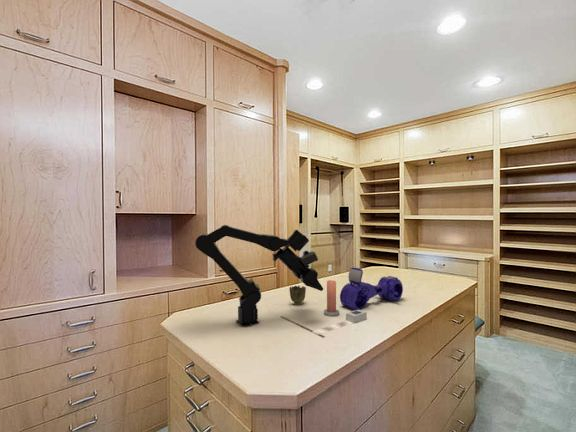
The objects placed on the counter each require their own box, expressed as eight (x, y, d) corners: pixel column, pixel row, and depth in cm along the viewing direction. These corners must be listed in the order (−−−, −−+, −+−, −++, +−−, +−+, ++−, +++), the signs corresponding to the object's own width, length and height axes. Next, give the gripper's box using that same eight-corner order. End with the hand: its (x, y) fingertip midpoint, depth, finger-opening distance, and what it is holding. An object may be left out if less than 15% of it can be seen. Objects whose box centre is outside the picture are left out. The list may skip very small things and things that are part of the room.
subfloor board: (323, 340, 92) (323, 337, 92) (279, 318, 112) (279, 316, 112) (373, 322, 108) (373, 319, 108) (328, 306, 127) (328, 304, 127)
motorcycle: (357, 316, 115) (357, 272, 115) (333, 307, 126) (333, 267, 126) (409, 301, 134) (409, 263, 134) (385, 294, 146) (384, 260, 146)
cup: (286, 306, 127) (286, 288, 127) (293, 301, 133) (293, 284, 133) (301, 308, 123) (301, 290, 123) (308, 304, 130) (308, 286, 130)
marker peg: (331, 317, 110) (331, 283, 110) (320, 313, 115) (320, 281, 115) (342, 314, 114) (342, 281, 114) (331, 310, 119) (331, 279, 119)
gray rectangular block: (354, 323, 105) (354, 315, 105) (346, 319, 108) (345, 312, 108) (366, 318, 109) (366, 311, 109) (358, 316, 112) (358, 309, 112)
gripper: (312, 247, 103) (341, 276, 105) (299, 242, 121) (324, 267, 124) (290, 270, 101) (321, 299, 104) (281, 262, 120) (307, 287, 122)
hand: (318, 287), depth 113 cm, fingers open, 9 cm apart
